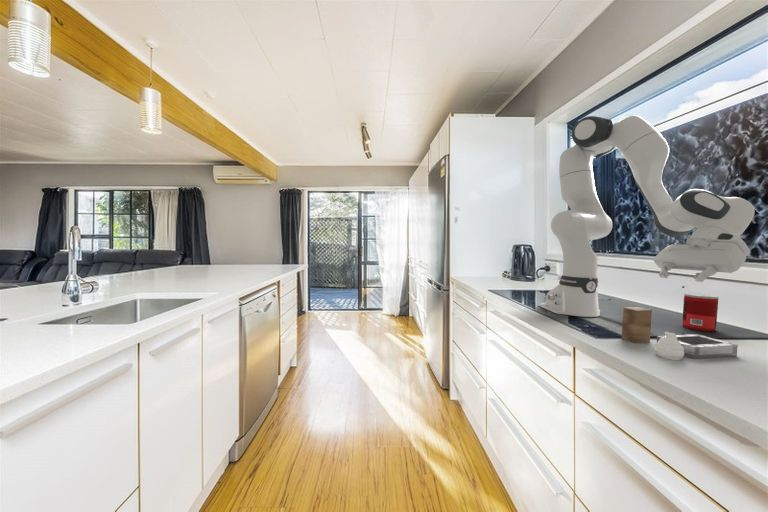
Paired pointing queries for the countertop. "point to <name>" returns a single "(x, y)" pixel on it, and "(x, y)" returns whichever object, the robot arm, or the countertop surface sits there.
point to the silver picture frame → (705, 346)
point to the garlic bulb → (669, 347)
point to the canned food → (700, 311)
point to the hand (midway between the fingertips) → (678, 278)
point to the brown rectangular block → (636, 324)
